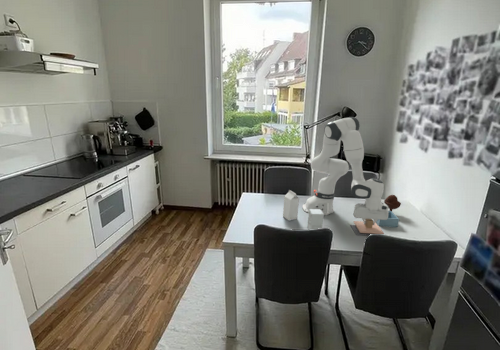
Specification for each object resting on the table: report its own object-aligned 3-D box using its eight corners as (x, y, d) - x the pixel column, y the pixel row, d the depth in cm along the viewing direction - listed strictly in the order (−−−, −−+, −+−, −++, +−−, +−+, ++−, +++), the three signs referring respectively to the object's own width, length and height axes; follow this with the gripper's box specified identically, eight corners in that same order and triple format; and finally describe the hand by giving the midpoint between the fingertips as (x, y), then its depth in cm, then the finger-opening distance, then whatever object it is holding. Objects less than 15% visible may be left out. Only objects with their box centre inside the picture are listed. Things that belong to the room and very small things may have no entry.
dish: (378, 226, 183) (380, 217, 181) (372, 217, 194) (373, 210, 192) (397, 227, 182) (399, 219, 180) (389, 219, 194) (391, 211, 192)
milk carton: (288, 220, 185) (291, 194, 179) (282, 216, 190) (284, 190, 185) (297, 219, 188) (299, 192, 182) (291, 214, 194) (293, 189, 188)
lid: (360, 232, 169) (361, 224, 167) (353, 222, 182) (354, 214, 180) (383, 234, 168) (385, 225, 166) (375, 223, 181) (376, 215, 180)
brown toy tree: (400, 218, 196) (404, 198, 192) (383, 216, 198) (387, 196, 194) (396, 211, 206) (400, 193, 201) (380, 210, 208) (383, 191, 203)
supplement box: (318, 227, 178) (320, 209, 174) (321, 232, 171) (324, 214, 167) (307, 226, 178) (309, 208, 174) (309, 232, 170) (311, 213, 167)
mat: (356, 234, 170) (356, 233, 170) (350, 225, 182) (350, 224, 181) (385, 236, 169) (386, 235, 169) (378, 227, 181) (378, 226, 181)
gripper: (356, 205, 168) (353, 225, 172) (391, 207, 167) (387, 228, 171) (353, 201, 174) (350, 221, 178) (387, 203, 173) (382, 223, 177)
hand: (368, 224), depth 174 cm, fingers closed on lid, 3 cm apart
